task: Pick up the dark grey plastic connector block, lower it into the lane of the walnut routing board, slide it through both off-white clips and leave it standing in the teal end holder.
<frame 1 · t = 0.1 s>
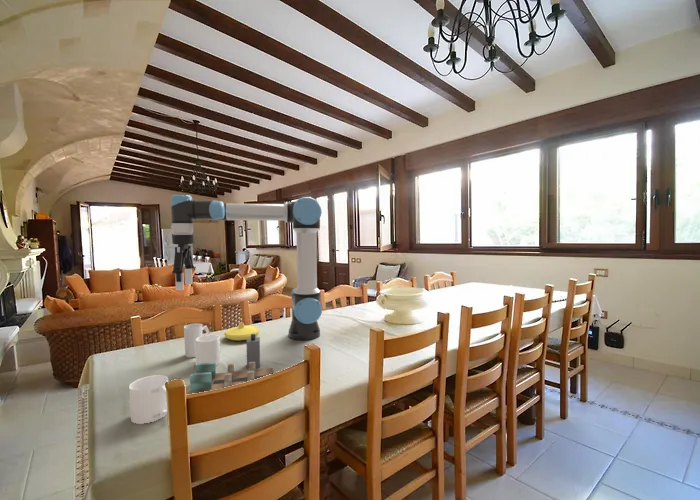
hand: (184, 287, 131), 28 cm above the table, fingers open, 13 cm apart
mug: (198, 354, 134), on the table
yellow pattypan squash: (242, 338, 154), on the table
connector: (253, 365, 122), on the table
mug 2: (153, 417, 89), on the table
route board: (232, 383, 108), on the table
cup: (205, 363, 125), on the table
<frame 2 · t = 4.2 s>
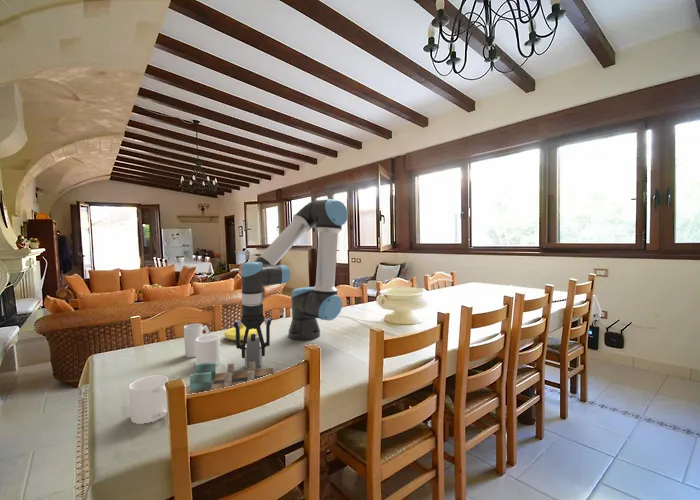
hand: (253, 365, 122), 0 cm above the table, fingers closed on connector, 4 cm apart
connector: (253, 365, 122), on the table, touching gripper
everything else where it was.
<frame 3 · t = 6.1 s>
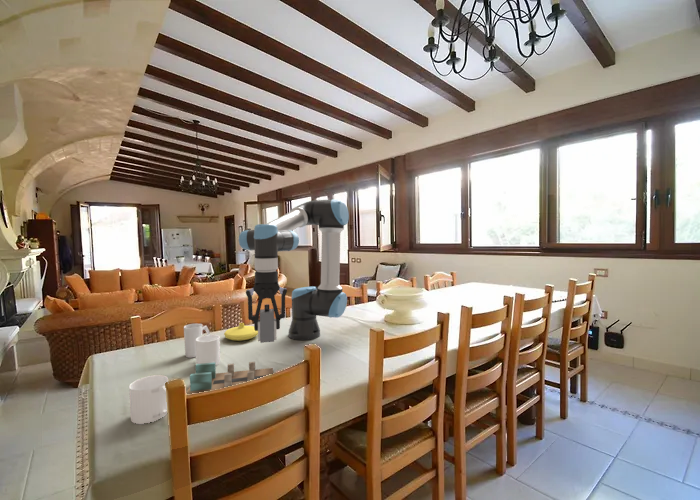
hand: (267, 339, 110), 14 cm above the table, fingers closed on connector, 4 cm apart
connector: (267, 340, 110), point 14 cm above the table, touching gripper
everything else where it was.
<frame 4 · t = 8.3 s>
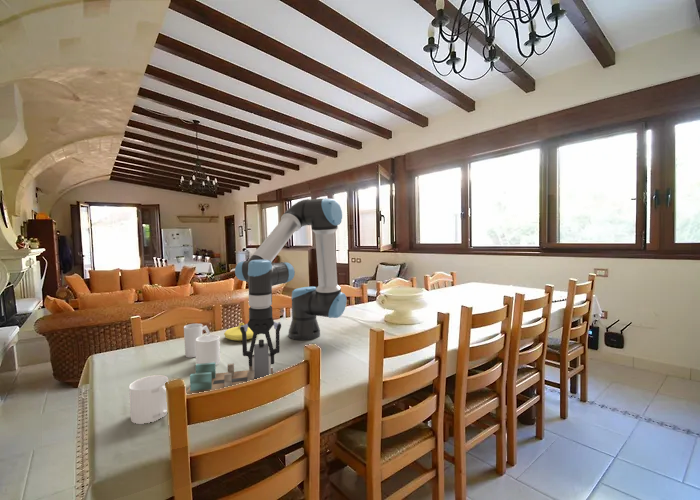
hand: (261, 374, 110), 2 cm above the table, fingers closed on connector, 4 cm apart
connector: (261, 374, 110), point 2 cm above the table, touching gripper
everything else where it was.
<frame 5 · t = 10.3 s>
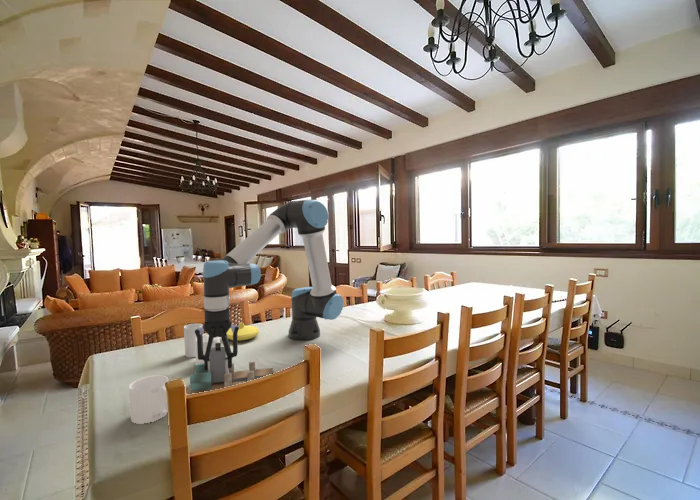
hand: (218, 378, 107), 2 cm above the table, fingers closed on connector, 4 cm apart
connector: (218, 379, 107), point 2 cm above the table, touching gripper
everything else where it was.
when the fingers open (2 cm above the table, at t = 12.4 s): connector stays where it is, resting on route board.
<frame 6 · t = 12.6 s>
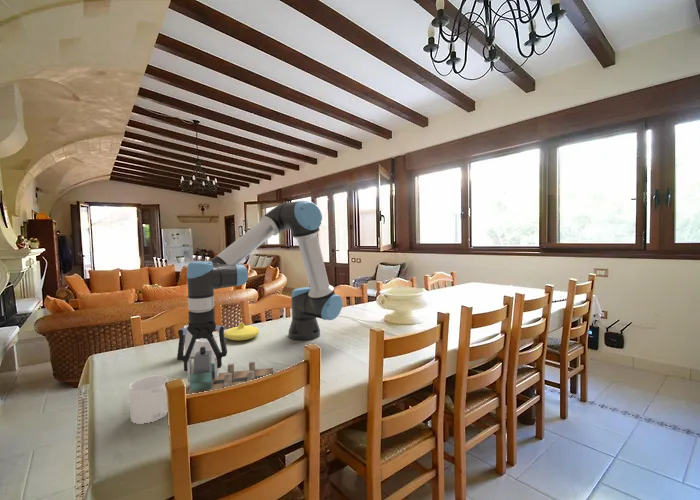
hand: (203, 378, 106), 3 cm above the table, fingers open, 7 cm apart
connector: (203, 383, 106), point 1 cm above the table, touching route board
everything else where it was.
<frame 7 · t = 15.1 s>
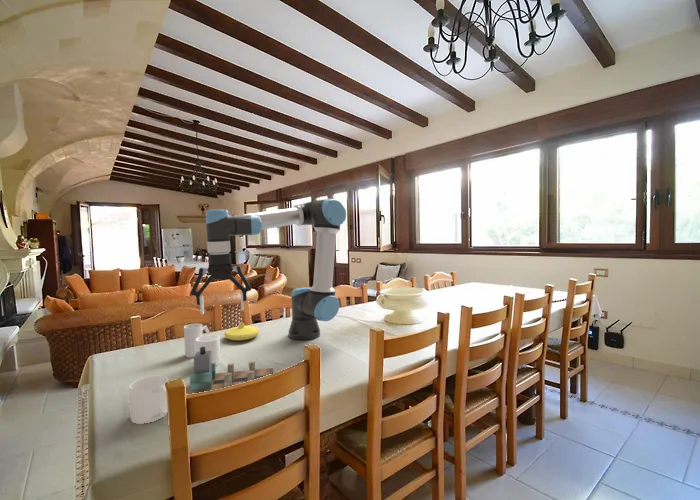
hand: (223, 311, 118), 21 cm above the table, fingers open, 13 cm apart
nothing on the table moved.
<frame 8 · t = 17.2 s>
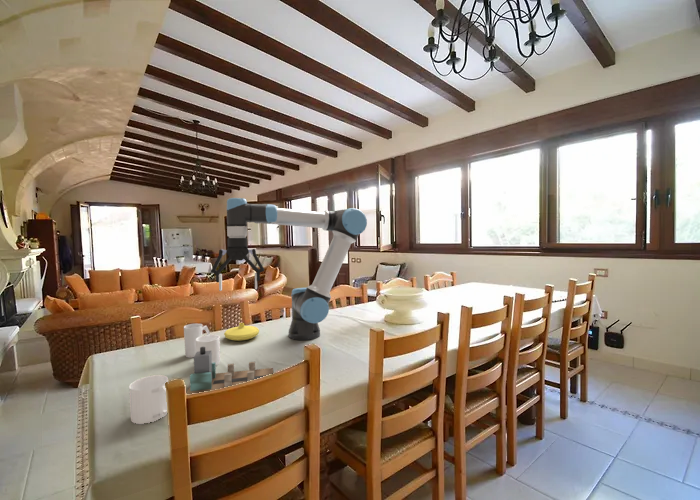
hand: (238, 289, 132), 27 cm above the table, fingers open, 13 cm apart
nothing on the table moved.
at the end: connector 0.0 cm from the target spot on the route board, point 1.0 cm above the route board's base; connector tilted 0°; the gripper is holding nothing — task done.
